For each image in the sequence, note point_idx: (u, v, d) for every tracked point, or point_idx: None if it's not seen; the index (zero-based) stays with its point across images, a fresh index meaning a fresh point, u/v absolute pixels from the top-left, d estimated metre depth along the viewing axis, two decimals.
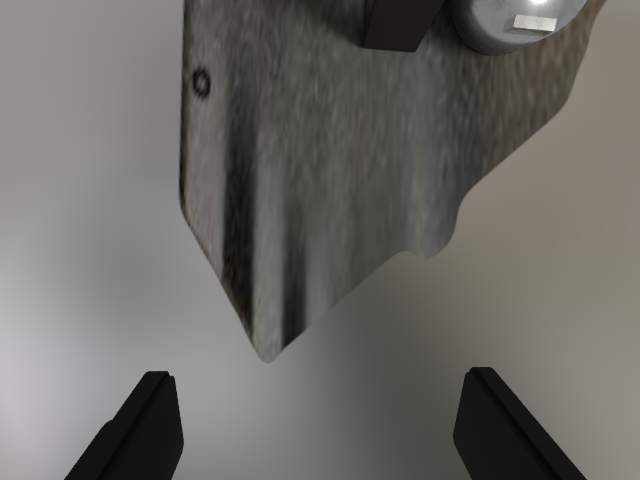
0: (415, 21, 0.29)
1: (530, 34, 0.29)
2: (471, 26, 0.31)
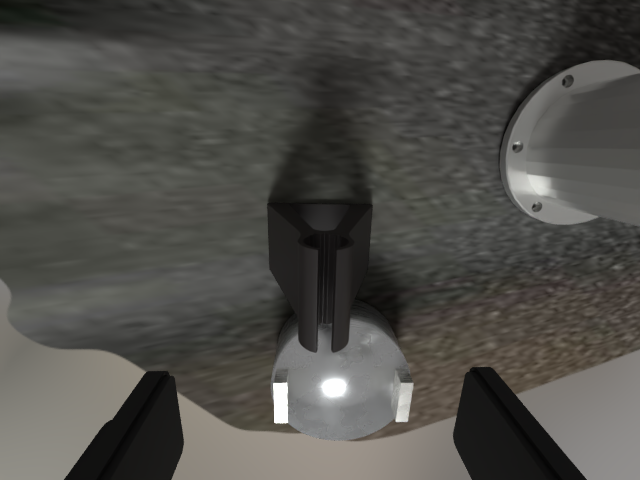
0: (280, 269, 0.23)
1: None
2: (292, 329, 0.27)
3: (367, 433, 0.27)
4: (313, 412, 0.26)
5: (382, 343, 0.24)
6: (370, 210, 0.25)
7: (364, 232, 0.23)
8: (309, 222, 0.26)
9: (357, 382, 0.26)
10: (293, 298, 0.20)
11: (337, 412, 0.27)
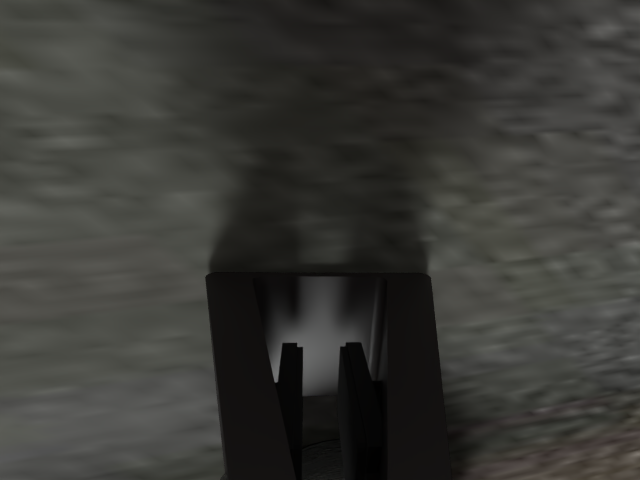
0: None
1: None
2: None
3: None
4: None
5: None
6: None
7: None
8: (297, 312, 0.12)
9: None
10: None
11: None
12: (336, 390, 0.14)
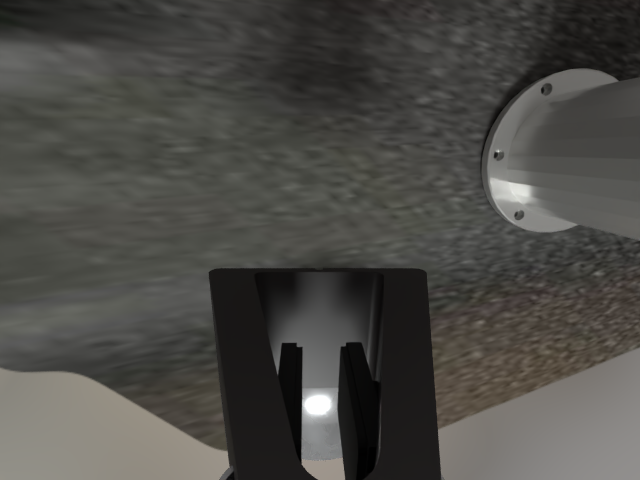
0: None
1: None
2: None
3: None
4: None
5: None
6: None
7: None
8: (297, 306, 0.13)
9: None
10: None
11: (321, 431, 0.25)
12: (335, 383, 0.14)
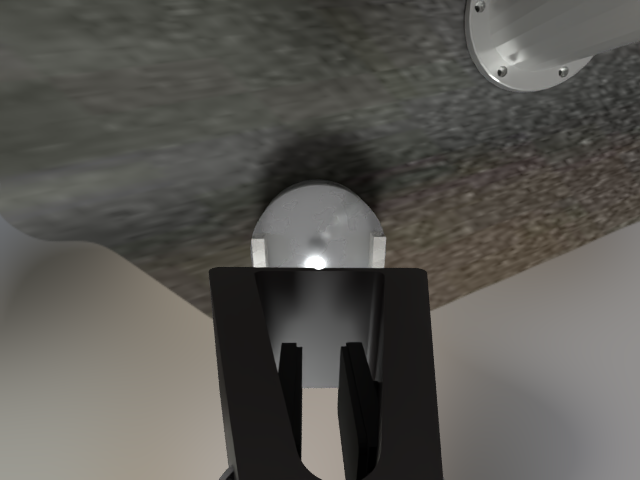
0: None
1: None
2: (270, 203, 0.28)
3: None
4: None
5: (356, 203, 0.25)
6: None
7: None
8: (297, 305, 0.13)
9: (334, 248, 0.27)
10: None
11: None
12: (335, 382, 0.14)
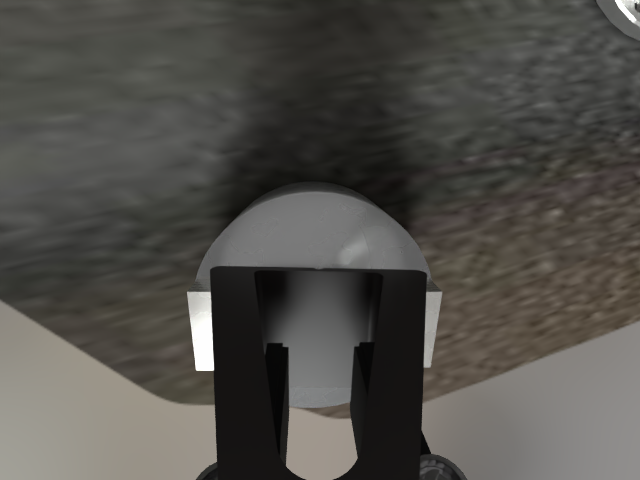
0: None
1: None
2: (233, 220, 0.16)
3: None
4: None
5: (385, 227, 0.14)
6: None
7: None
8: (297, 305, 0.13)
9: None
10: None
11: None
12: (334, 382, 0.14)
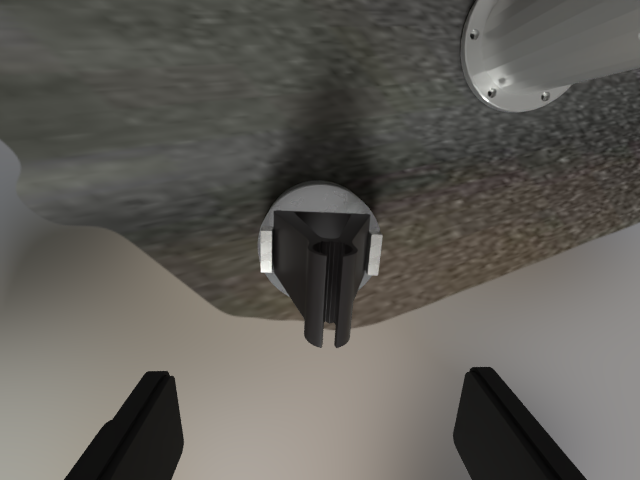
0: (286, 272, 0.25)
1: None
2: None
3: None
4: None
5: (356, 203, 0.28)
6: (368, 219, 0.27)
7: (363, 240, 0.25)
8: (312, 229, 0.28)
9: None
10: (298, 299, 0.22)
11: None
12: None
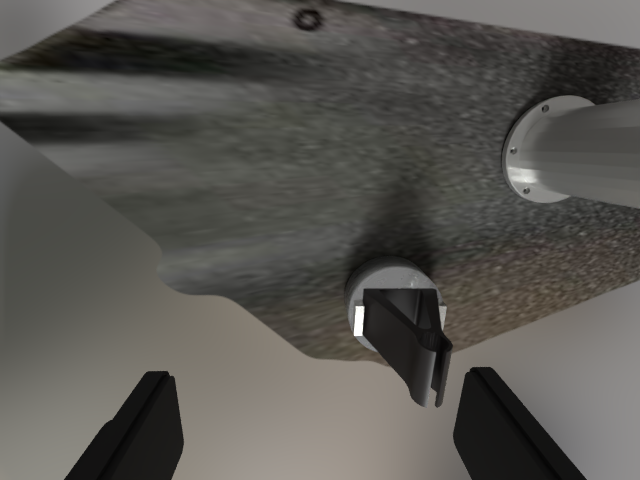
0: (380, 340, 0.34)
1: (353, 319, 0.37)
2: (361, 275, 0.39)
3: None
4: None
5: (425, 281, 0.37)
6: (436, 295, 0.36)
7: None
8: (391, 301, 0.37)
9: None
10: (397, 365, 0.31)
11: None
12: None
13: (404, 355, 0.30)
